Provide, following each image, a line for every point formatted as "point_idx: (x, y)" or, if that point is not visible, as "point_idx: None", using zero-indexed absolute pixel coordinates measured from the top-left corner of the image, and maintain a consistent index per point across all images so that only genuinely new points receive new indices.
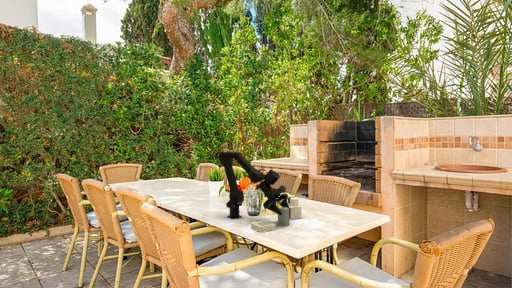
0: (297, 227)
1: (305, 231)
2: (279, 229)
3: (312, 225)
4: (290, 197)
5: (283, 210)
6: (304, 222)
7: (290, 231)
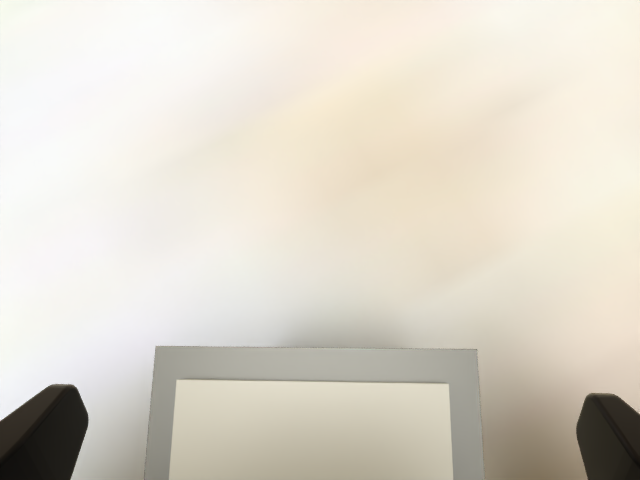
0: (334, 178)
1: (450, 5)
2: (602, 369)
3: (136, 54)
4: None
5: (472, 425)
6: (32, 213)
7: (582, 167)
